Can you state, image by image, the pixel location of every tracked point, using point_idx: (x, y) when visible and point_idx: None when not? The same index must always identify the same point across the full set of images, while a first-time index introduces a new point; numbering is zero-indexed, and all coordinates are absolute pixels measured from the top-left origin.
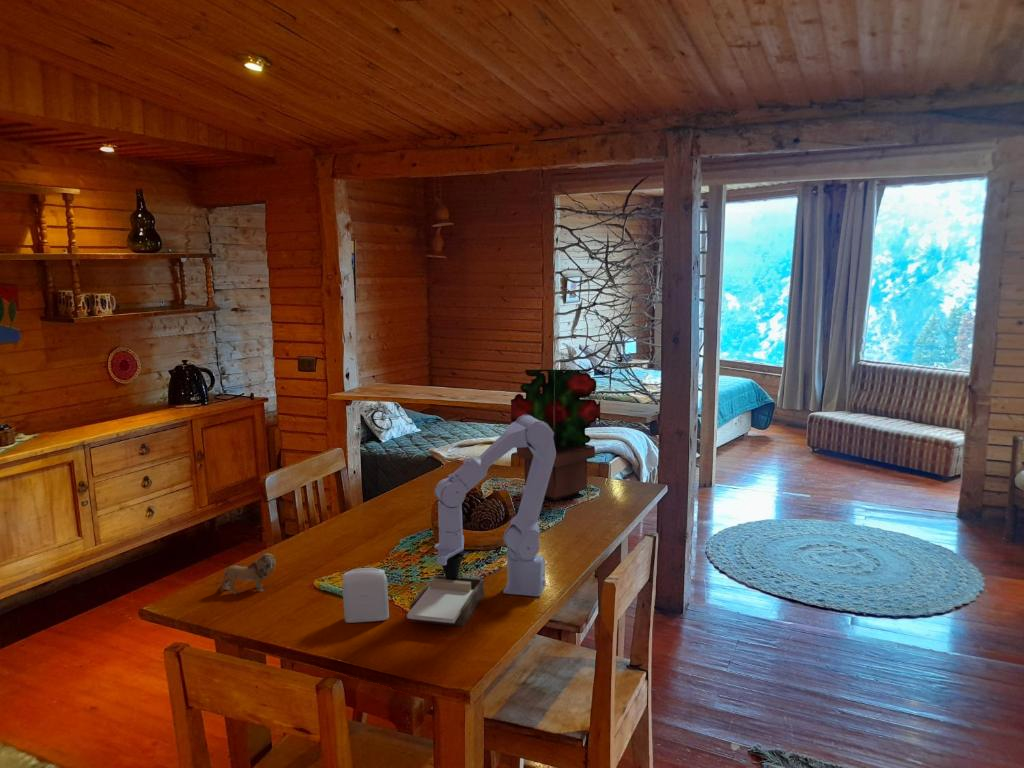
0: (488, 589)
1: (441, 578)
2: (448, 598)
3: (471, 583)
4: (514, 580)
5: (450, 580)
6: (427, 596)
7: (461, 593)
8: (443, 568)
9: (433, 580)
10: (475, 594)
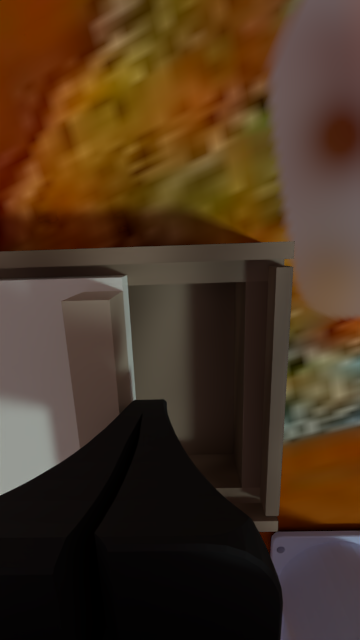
0: (305, 470)
1: (270, 296)
2: (2, 436)
3: (253, 461)
4: (299, 634)
5: None
6: None
7: None
8: (67, 460)
9: (74, 328)
10: None
